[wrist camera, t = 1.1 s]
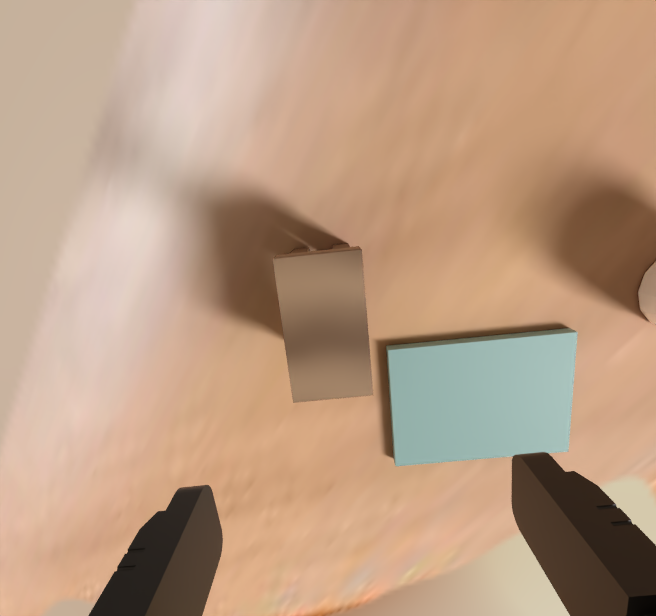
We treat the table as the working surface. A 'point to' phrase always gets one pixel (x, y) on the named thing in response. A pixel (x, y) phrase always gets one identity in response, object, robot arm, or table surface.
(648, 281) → the white cup
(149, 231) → the table surface
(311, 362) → the tan slab with prongs
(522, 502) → the robot arm
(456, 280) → the table surface
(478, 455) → the board
